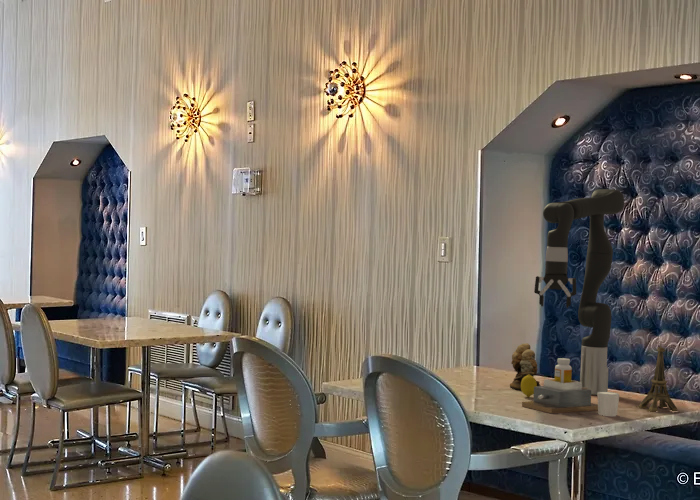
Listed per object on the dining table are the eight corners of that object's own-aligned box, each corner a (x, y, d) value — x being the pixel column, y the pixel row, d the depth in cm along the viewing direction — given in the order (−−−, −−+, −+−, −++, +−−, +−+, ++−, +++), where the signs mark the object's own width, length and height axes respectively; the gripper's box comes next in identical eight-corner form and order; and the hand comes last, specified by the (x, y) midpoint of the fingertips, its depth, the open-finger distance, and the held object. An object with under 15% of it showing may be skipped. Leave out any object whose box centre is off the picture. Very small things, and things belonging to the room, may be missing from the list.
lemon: (536, 398, 342) (537, 375, 342) (519, 397, 343) (520, 374, 343) (536, 396, 348) (537, 374, 348) (520, 395, 349) (521, 372, 349)
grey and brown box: (571, 403, 336) (572, 376, 336) (601, 409, 324) (602, 382, 324) (521, 406, 324) (523, 379, 324) (551, 413, 313) (552, 385, 312)
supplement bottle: (571, 387, 326) (573, 358, 326) (570, 390, 321) (571, 360, 321) (555, 386, 328) (556, 357, 328) (553, 388, 323) (554, 359, 322)
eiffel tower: (650, 412, 323) (653, 336, 323) (636, 407, 334) (639, 333, 333) (680, 413, 325) (683, 337, 325) (665, 407, 335) (668, 334, 335)
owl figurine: (546, 393, 358) (548, 346, 358) (514, 392, 359) (515, 345, 358) (537, 385, 376) (539, 341, 376) (506, 384, 377) (508, 340, 376)
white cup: (593, 412, 318) (594, 391, 318) (614, 413, 318) (615, 391, 318) (600, 416, 311) (601, 394, 311) (621, 417, 312) (622, 394, 312)
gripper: (577, 261, 345) (575, 307, 345) (536, 259, 348) (534, 305, 348) (577, 261, 337) (575, 308, 338) (535, 259, 341) (533, 306, 341)
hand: (554, 306), depth 343 cm, fingers open, 8 cm apart
